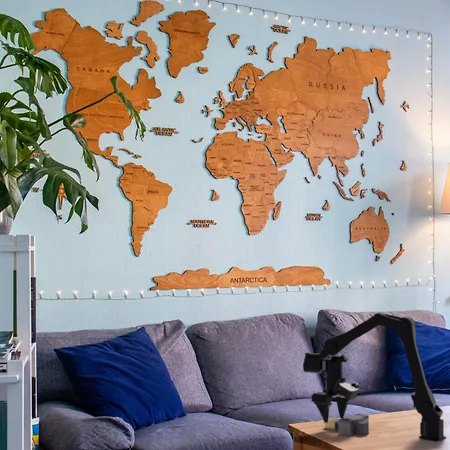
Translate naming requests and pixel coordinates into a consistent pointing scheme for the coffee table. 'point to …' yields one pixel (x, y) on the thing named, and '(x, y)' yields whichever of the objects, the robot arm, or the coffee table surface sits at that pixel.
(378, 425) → the coffee table surface
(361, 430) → the stepped grey block
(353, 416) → the curved dark grey plate
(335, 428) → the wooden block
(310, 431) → the coffee table surface
